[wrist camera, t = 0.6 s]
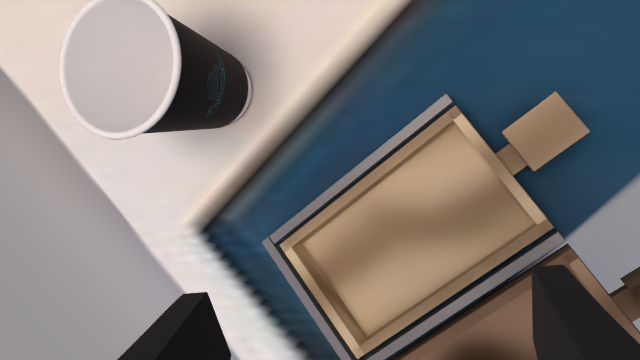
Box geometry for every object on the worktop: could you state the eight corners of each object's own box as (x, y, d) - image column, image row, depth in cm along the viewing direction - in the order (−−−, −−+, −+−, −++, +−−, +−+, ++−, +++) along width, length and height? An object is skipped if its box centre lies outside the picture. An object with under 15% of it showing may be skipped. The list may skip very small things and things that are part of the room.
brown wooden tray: (684, 387, 30) (693, 399, 28) (455, 508, 34) (452, 524, 32) (449, 97, 34) (446, 93, 32) (272, 239, 38) (261, 242, 36)
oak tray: (613, 181, 30) (636, 185, 24) (366, 348, 36) (334, 385, 30) (514, 65, 32) (513, 41, 26) (292, 240, 37) (247, 255, 31)
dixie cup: (289, 115, 37) (201, 95, 27) (200, 165, 40) (88, 164, 30) (244, 14, 38) (143, -41, 28) (160, 70, 41) (38, 37, 31)
